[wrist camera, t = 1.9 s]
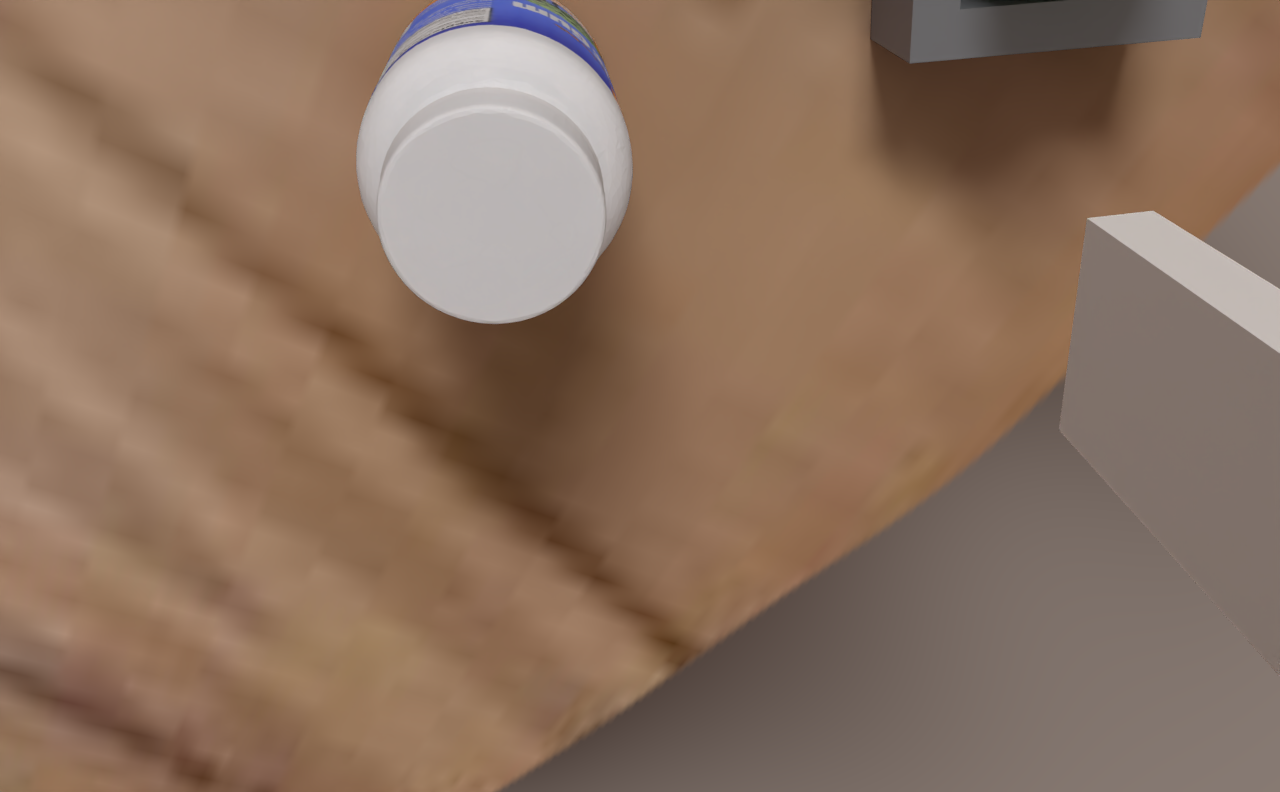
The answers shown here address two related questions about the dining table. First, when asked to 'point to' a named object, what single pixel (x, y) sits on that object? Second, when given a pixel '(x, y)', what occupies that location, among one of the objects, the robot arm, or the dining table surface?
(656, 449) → the dining table surface
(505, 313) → the pill bottle
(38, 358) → the dining table surface
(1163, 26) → the button housing
